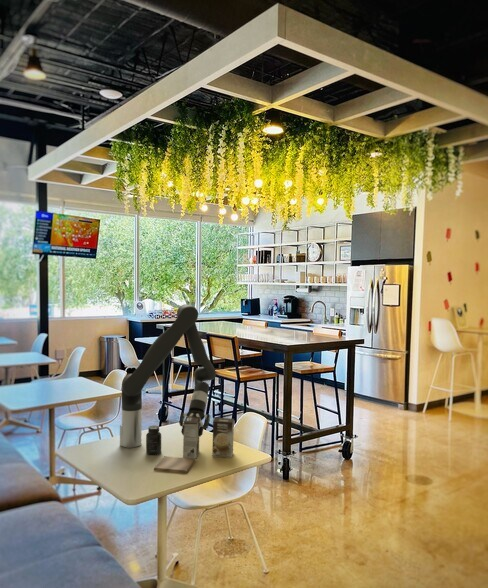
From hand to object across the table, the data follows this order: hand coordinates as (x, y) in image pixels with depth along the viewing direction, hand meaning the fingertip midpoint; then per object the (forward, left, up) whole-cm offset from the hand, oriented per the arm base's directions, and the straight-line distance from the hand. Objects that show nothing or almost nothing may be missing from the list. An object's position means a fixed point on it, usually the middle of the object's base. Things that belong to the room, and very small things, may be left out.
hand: (191, 435), depth 216 cm
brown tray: (-3, -14, -9) cm, 17 cm away
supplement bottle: (-17, -2, -9) cm, 19 cm away
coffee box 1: (0, 0, -9) cm, 9 cm away
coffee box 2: (+14, +3, -9) cm, 17 cm away
